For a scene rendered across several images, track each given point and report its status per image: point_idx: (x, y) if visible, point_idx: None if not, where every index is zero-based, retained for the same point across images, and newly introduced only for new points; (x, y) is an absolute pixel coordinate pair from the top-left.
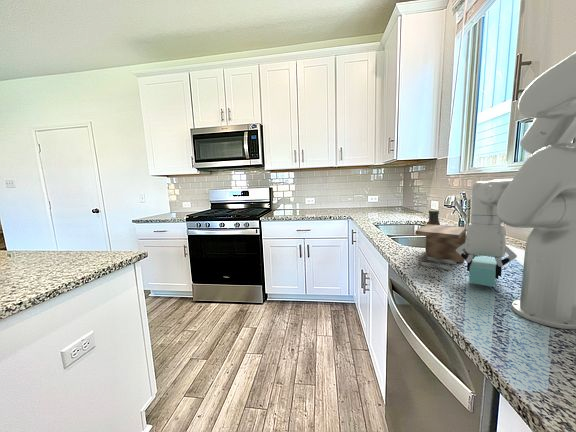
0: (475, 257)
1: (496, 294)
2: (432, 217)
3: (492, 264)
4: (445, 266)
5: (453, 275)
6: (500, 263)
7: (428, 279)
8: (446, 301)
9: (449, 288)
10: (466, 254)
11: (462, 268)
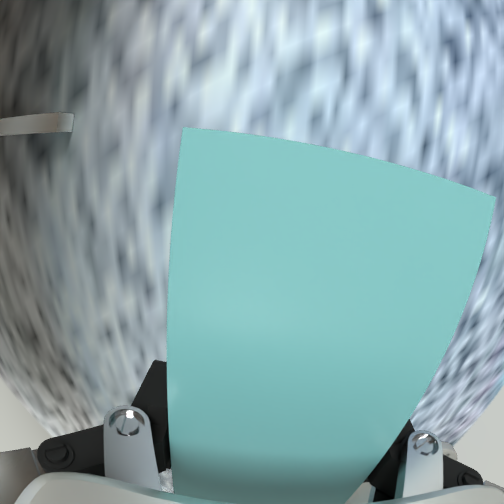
0: (184, 234)
1: None
2: None
3: (336, 487)
4: (22, 133)
5: (92, 254)
6: (391, 496)
7: (36, 372)
8: None
9: None
10: (81, 469)
11: (147, 18)
